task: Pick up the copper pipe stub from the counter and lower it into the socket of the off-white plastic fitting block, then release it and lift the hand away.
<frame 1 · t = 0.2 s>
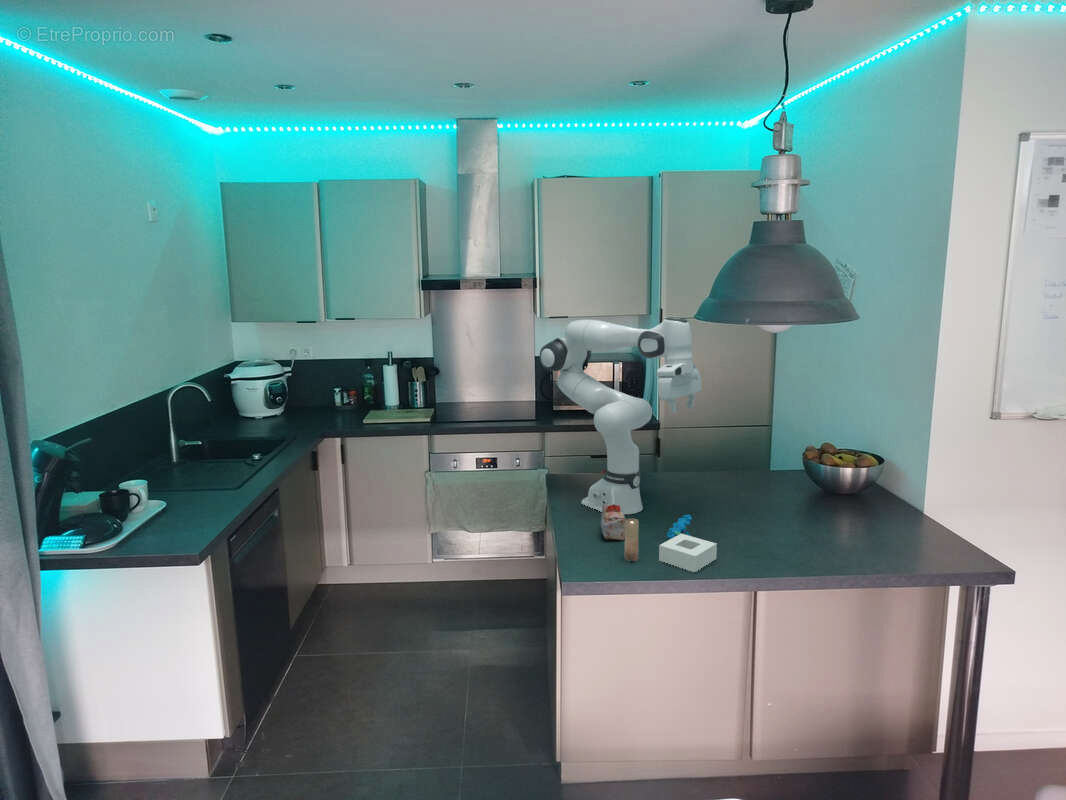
hand: (682, 410, 231), 39 cm above the worktop, tool pointing down, fingers open, 8 cm apart
food item: (612, 534, 231), on the worktop
pipe stub: (631, 559, 212), on the worktop
fitting block: (687, 560, 210), on the worktop
gear: (679, 539, 227), on the worktop
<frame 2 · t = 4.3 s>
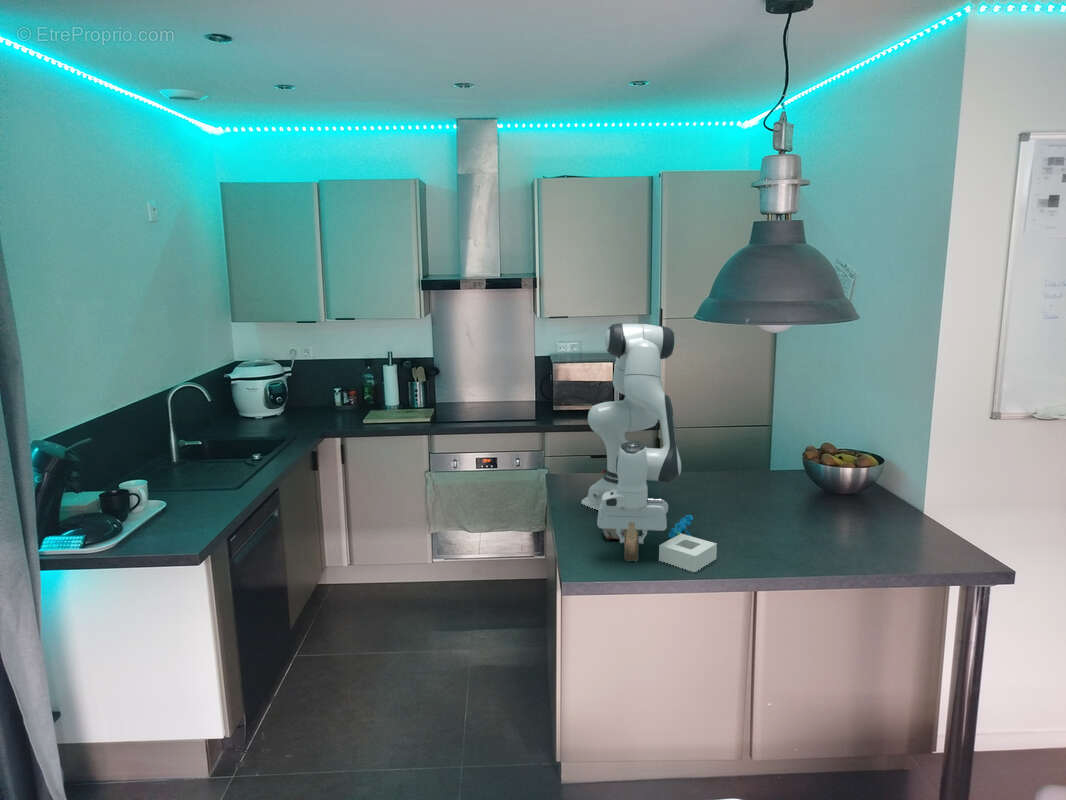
hand: (631, 542, 211), 5 cm above the worktop, tool pointing down, fingers closed on pipe stub, 4 cm apart
pipe stub: (631, 559, 212), on the worktop, touching gripper
everything else where it was.
when the fingers open (7 cm above the worktop, at t = 9.4 s): pipe stub drops 1 cm, resting in fitting block.
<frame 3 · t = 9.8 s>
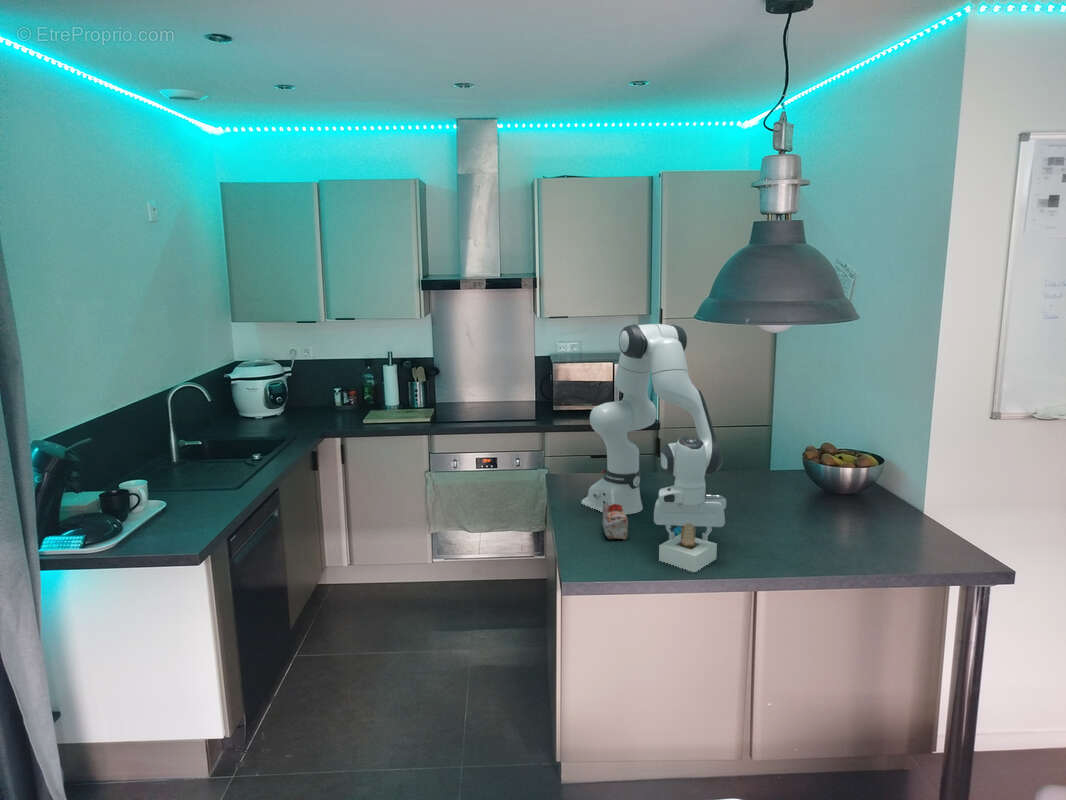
hand: (688, 539, 209), 7 cm above the worktop, tool pointing down, fingers open, 8 cm apart
pipe stub: (687, 560, 210), resting in fitting block
everything else where it was.
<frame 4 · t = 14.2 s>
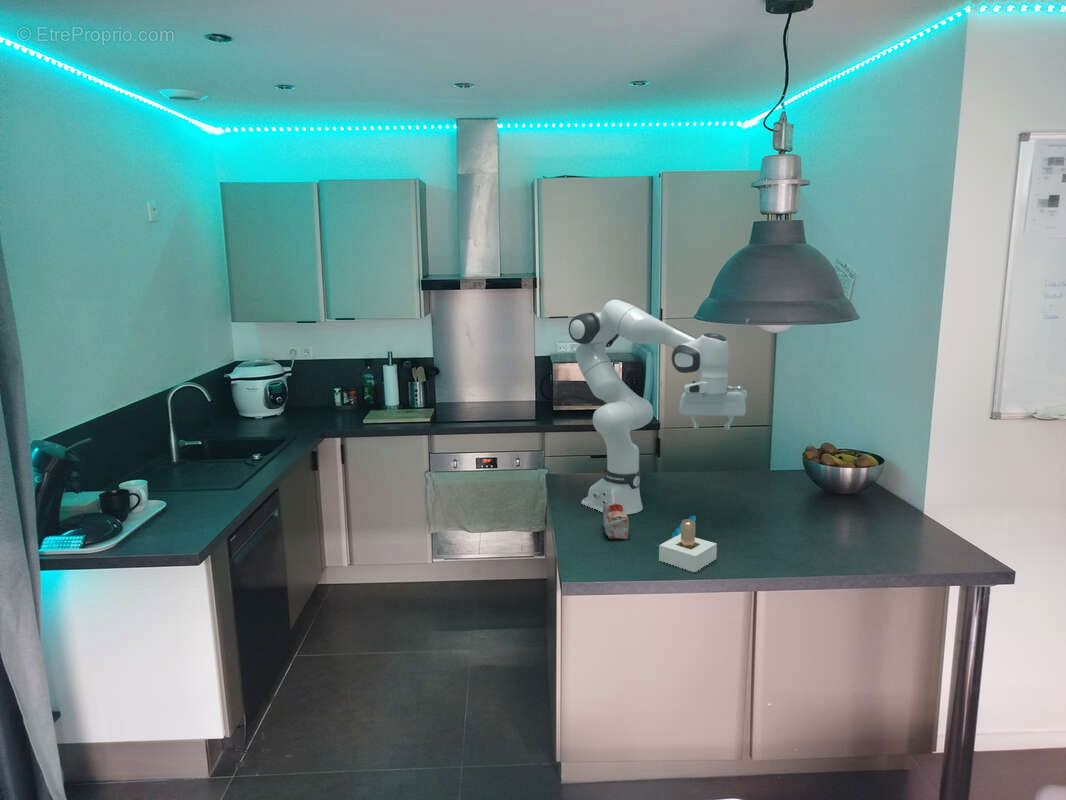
hand: (711, 429, 225), 34 cm above the worktop, tool pointing down, fingers open, 8 cm apart
at the end: pipe stub 0.1 cm off-centre on the fitting block, point 0.0 cm above the fitting block's base; pipe stub tilted 0°; the gripper is holding nothing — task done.
